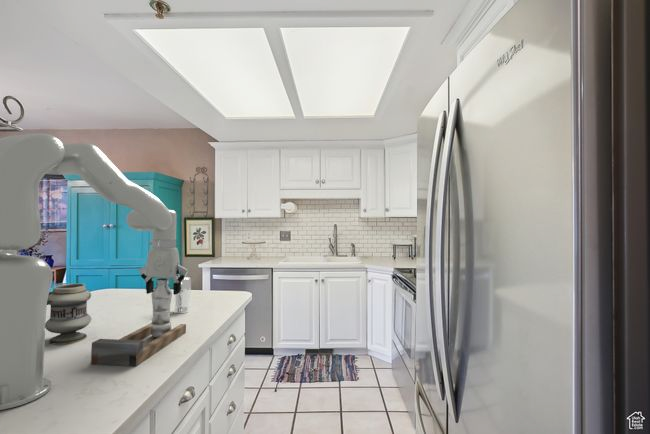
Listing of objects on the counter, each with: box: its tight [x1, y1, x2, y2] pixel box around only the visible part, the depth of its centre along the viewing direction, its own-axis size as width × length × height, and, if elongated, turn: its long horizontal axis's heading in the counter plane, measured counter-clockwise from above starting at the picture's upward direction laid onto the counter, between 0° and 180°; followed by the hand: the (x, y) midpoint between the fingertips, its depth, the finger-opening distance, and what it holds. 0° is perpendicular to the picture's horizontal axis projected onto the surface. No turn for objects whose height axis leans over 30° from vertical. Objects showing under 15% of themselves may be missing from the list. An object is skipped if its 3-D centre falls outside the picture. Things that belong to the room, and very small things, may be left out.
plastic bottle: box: [150, 278, 173, 339], centre depth 111 cm, size 6×7×20 cm
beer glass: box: [173, 276, 192, 315], centre depth 143 cm, size 7×7×15 cm
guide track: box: [90, 322, 187, 367], centre depth 102 cm, size 28×13×6 cm, turn 177°
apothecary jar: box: [45, 282, 92, 346], centre depth 107 cm, size 12×12×18 cm
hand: (163, 293), depth 112 cm, fingers open, 9 cm apart
